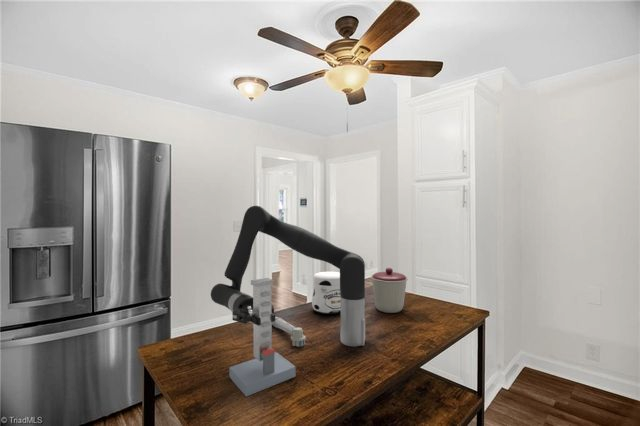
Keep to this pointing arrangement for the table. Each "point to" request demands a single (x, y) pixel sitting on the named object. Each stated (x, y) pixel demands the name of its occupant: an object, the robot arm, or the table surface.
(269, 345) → the column
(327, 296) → the milk container
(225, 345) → the table surface
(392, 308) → the canister
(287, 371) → the stand base
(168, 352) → the table surface
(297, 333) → the toothbrush head
